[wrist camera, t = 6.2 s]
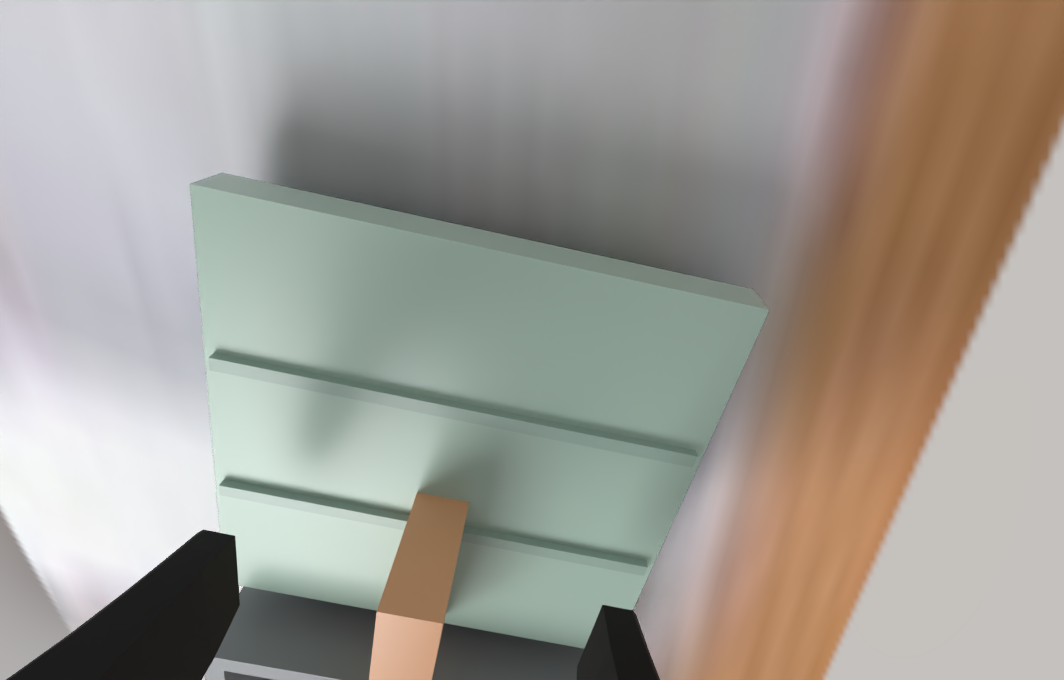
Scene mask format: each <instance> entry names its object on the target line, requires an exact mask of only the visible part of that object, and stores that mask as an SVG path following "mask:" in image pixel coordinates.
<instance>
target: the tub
mask: <svg viewBox="0 0 1064 680" xmlns="http://www.w3.org/2000/svg"><path fill="white" fill-rule="evenodd" d="M239 599H240V606H239V608H238V610H237V612H236V614H235V616H234V618H233V620H232V623H231V625H230V627H229V629H228V631H227V633H226V635H225V637H224V639H223V641H222V643H221V645H220V647H219V649H218V651H217V653H216V655H215V657H214V659H213V661H212V663H211V665H210V666H209V668H208V670H207V671H206V673H205V680H369V674H370V665H371V657H372V648H373V639H374V630H375V622H376V613H377V611H376V610H370V609H365V608H359V607H354V606H348V605H343V604H337V603H332V602H327V601H321V600H316V599H310V598H305V597H299V596H294V595H288V594H283V593H277V592H272V591H267V590H261V589H256V588H250V587H245V586H244V587H243V588H242V590H241V592H240V593H239ZM583 651H584V649H583V648H578V647H572V646H567V645H561V644H556V643H550V642H545V641H539V640H534V639H528V638H523V637H518V636H512V635H507V634H501V633H496V632H490V631H485V630H479V629H474V628H468V627H463V626H458V625H452V624H447V623H444V626H443V630H442V635H441V640H440V645H439V649H438V654H437V659H436V663H435V668H434V673H433V677H432V680H577V665H578V663H579V661H580V658H581V656H582V653H583Z"/></svg>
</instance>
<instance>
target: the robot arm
mask: <svg viewBox="0 0 1064 680" xmlns="http://www.w3.org/2000/svg"><path fill="white" fill-rule="evenodd" d="M239 606H240V599H239V584H238V569H237V554H236V539H235V536H234V535H228V534H223V533H218V532H212V531H207V530H202V531H200V532H198V533H197V534H196V535H195V536H193V537H192V538H191V539H190V540H188V541H187V542H186V543H185V544H184V545H182V546H181V547H180V548H179V549H177V550H176V551H175V552H174V553H173V554H171V555H170V556H169V557H168V558H166V559H165V560H164V561H163V562H162V563H160V564H159V565H158V566H157V567H155V568H154V569H153V570H152V571H150V572H149V573H148V574H147V575H145V576H144V577H143V578H142V579H140V580H139V581H138V582H137V583H135V584H134V585H133V586H132V587H130V588H129V589H128V590H127V591H125V592H124V593H123V594H122V595H120V596H119V597H118V598H116V599H115V600H114V601H112V602H111V603H110V604H109V605H107V606H106V607H105V608H103V609H102V610H101V611H99V612H98V613H97V614H95V615H94V616H93V617H92V618H90V619H89V620H88V621H86V622H85V623H84V624H82V625H81V626H80V627H79V628H77V629H76V630H75V631H73V632H72V633H71V634H69V635H68V636H66V637H65V638H64V639H63V640H61V641H60V642H58V643H57V644H56V645H54V646H53V647H51V648H50V649H49V650H47V651H46V652H44V653H43V654H41V655H40V656H39V657H37V658H36V659H35V660H33V661H32V662H30V663H29V664H28V665H26V666H25V667H24V668H22V669H21V670H19V671H18V672H16V673H15V674H14V675H12V676H11V677H9V678H8V679H7V680H202V678H203V676H204V675H205V673H206V671H207V670H208V668H209V666H210V665H211V663H212V661H213V659H214V657H215V655H216V653H217V651H218V649H219V647H220V645H221V643H222V641H223V639H224V637H225V635H226V633H227V631H228V629H229V627H230V625H231V623H232V620H233V618H234V616H235V614H236V612H237V610H238V608H239ZM577 680H660V678H659V676H658V673H657V671H656V668H655V666H654V663H653V660H652V658H651V655H650V653H649V650H648V647H647V644H646V642H645V639H644V636H643V633H642V631H641V628H640V625H639V622H638V619H637V616H636V614H635V613H634V612H633V610H628V609H623V608H618V607H612V606H607V605H602V607H601V610H600V612H599V614H598V617H597V619H596V622H595V624H594V627H593V629H592V631H591V634H590V636H589V639H588V641H587V644H586V646H585V648H584V651H583V653H582V656H581V658H580V661H579V663H578V665H577Z"/></svg>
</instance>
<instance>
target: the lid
mask: <svg viewBox="0 0 1064 680" xmlns="http://www.w3.org/2000/svg"><path fill="white" fill-rule="evenodd" d="M190 194H191V206H192V218H193V229H194V241H195V252H196V264H197V276H198V287H199V299H200V311H201V322H202V334H203V346H204V357H205V369H206V380H207V392H208V404H209V415H210V427H211V439H212V450H213V462H214V473H215V485H216V497H217V508H218V520H219V532H220V533H223V534H228V535H234V536H235V539H236V554H237V569H238V584H239V586H245V587H250V588H256V589H261V590H267V591H272V592H277V593H283V594H288V595H294V596H299V597H305V598H310V599H316V600H321V601H327V602H332V603H337V604H343V605H348V606H354V607H359V608H365V609H370V610H376V611H377V613H376V622H375V630H374V639H373V648H372V657H371V665H370V674H369V680H432V677H433V673H434V668H435V663H436V659H437V654H438V649H439V645H440V640H441V635H442V630H443V626H444V623H447V624H452V625H458V626H463V627H468V628H474V629H479V630H485V631H490V632H496V633H501V634H507V635H512V636H518V637H523V638H528V639H534V640H539V641H545V642H550V643H556V644H561V645H567V646H572V647H578V648H583V649H584V648H585V646H586V644H587V641H588V639H589V636H590V634H591V631H592V629H593V627H594V624H595V622H596V619H597V617H598V614H599V612H600V610H601V607H602V605H607V606H612V607H618V608H623V609H628V610H633V609H634V607H635V604H636V602H637V600H638V598H639V596H640V593H641V591H642V589H643V587H644V585H645V582H646V580H647V578H648V576H649V574H650V571H651V569H652V567H653V565H654V563H655V560H656V558H657V556H658V554H659V552H660V549H661V547H662V545H663V543H664V541H665V539H666V536H667V534H668V532H669V530H670V528H671V525H672V523H673V521H674V519H675V517H676V514H677V512H678V510H679V508H680V506H681V503H682V501H683V499H684V497H685V495H686V492H687V490H688V488H689V486H690V484H691V481H692V479H693V477H694V475H695V473H696V470H697V468H698V466H699V464H700V462H701V459H702V457H703V455H704V453H705V451H706V449H707V446H708V444H709V442H710V440H711V438H712V435H713V433H714V431H715V429H716V427H717V424H718V422H719V420H720V418H721V416H722V413H723V411H724V409H725V407H726V405H727V402H728V400H729V398H730V396H731V394H732V391H733V389H734V387H735V385H736V383H737V380H738V378H739V376H740V374H741V372H742V369H743V367H744V365H745V363H746V361H747V359H748V356H749V354H750V352H751V350H752V348H753V345H754V343H755V341H756V339H757V337H758V334H759V332H760V330H761V328H762V326H763V323H764V321H765V319H766V317H767V315H768V312H769V309H768V307H767V306H766V305H765V304H764V302H763V301H762V300H761V299H760V297H759V296H758V295H757V294H756V292H755V291H754V290H753V289H751V288H746V287H742V286H737V285H733V284H728V283H723V282H719V281H714V280H710V279H705V278H701V277H696V276H691V275H687V274H682V273H678V272H673V271H669V270H664V269H659V268H655V267H650V266H646V265H641V264H637V263H632V262H627V261H623V260H618V259H614V258H609V257H605V256H600V255H595V254H591V253H586V252H582V251H577V250H573V249H568V248H563V247H559V246H554V245H550V244H545V243H541V242H536V241H532V240H527V239H522V238H518V237H513V236H509V235H504V234H500V233H495V232H490V231H486V230H481V229H477V228H472V227H468V226H463V225H458V224H454V223H449V222H445V221H440V220H436V219H431V218H426V217H422V216H417V215H413V214H408V213H404V212H399V211H394V210H390V209H385V208H381V207H376V206H372V205H367V204H362V203H358V202H353V201H349V200H344V199H340V198H335V197H331V196H326V195H321V194H317V193H312V192H308V191H303V190H299V189H294V188H289V187H285V186H280V185H276V184H271V183H267V182H262V181H257V180H253V179H248V178H244V177H239V176H235V175H230V174H225V173H220V174H217V175H214V176H211V177H208V178H205V179H202V180H199V181H197V182H194V183H191V184H190Z"/></svg>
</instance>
